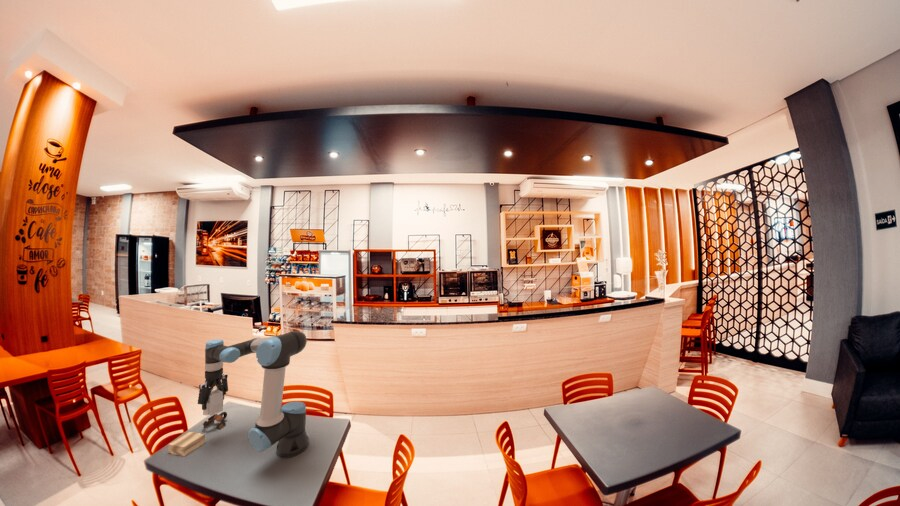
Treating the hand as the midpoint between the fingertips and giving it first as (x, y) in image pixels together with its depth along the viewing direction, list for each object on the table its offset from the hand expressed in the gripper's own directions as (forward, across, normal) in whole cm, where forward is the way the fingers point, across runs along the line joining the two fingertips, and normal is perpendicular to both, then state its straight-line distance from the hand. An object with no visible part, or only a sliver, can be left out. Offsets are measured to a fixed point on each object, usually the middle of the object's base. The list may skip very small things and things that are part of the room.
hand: (213, 410), depth 150 cm
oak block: (+17, +7, -8) cm, 20 cm away
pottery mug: (+17, -11, -10) cm, 23 cm away
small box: (+1, 0, 0) cm, 1 cm away
